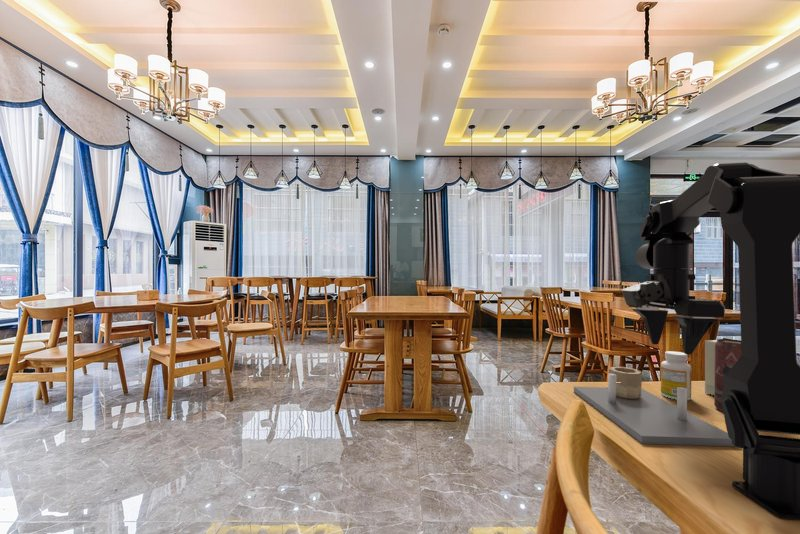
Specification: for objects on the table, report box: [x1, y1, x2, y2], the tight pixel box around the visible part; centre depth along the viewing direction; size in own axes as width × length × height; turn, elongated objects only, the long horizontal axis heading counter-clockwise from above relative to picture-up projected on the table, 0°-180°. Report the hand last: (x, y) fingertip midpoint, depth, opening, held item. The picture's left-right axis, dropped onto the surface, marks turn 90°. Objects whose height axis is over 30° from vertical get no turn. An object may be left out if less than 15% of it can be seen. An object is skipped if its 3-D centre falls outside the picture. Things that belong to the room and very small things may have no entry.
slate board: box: [573, 373, 737, 447], centre depth 71 cm, size 25×15×7 cm, turn 178°
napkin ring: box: [608, 366, 643, 398], centre depth 78 cm, size 6×6×5 cm
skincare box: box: [704, 339, 717, 396], centre depth 83 cm, size 6×4×12 cm
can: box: [713, 338, 741, 413], centre depth 73 cm, size 6×6×14 cm
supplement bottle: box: [660, 350, 692, 402], centre depth 81 cm, size 5×5×10 cm
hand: (670, 348), depth 72 cm, fingers open, 9 cm apart
